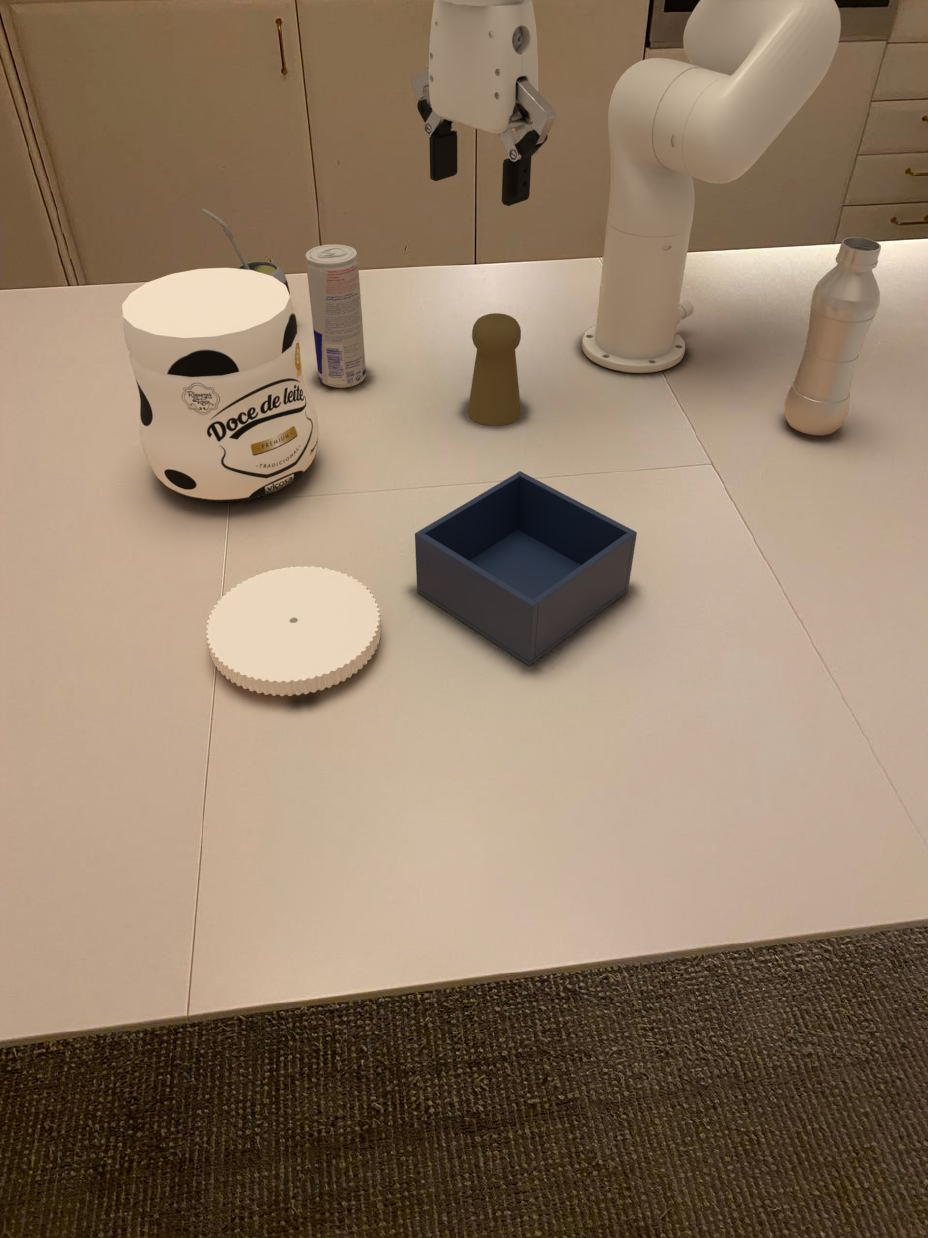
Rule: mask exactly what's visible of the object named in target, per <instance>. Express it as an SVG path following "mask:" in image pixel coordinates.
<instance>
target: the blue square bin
mask: <svg viewBox="0 0 928 1238" xmlns="http://www.w3.org/2000/svg"><path fill="white" fill-rule="evenodd" d="M637 536H638V532H637V531H635V530H633V529H632V528H629V527H628V526H626V525H624V524H623V523H620V522H618V521H616V520H614V519H613V518H612V517H611V518H610V517H609V516H607V515H605V514H603V513H601V512H599V511H597V510H595V509H593V508H592V507H590V506H588V505H585V504H584V503H582V502H581V501H578V500H576V499H574V498H573V497H571V496H569V495H566V494H565V493H563V492H561V491H559V490H558V489H555V488H553V487H551V486H549V485H547V484H546V483H544V482H542V481H540V480H538V479H536V478H534V477H532V476H530V475H528V474H527V473H524V472H523V471H521V470H520V471H518V472H516V473H514V474H512V475H510V476H509V477H507V478H506V479H504V480H502V481H500V482H499V483H497V484H496V485H494V486H492V487H491V488H489V489H487V490H485V491H484V492H481V493H480V494H478V495H477V496H475V497H473V498H472V499H470V500H468V501H467V502H465V503H464V504H462V505H460V506H459V507H457V508H454V509H453V510H452V511H450V512H448V513H447V514H445V515H443V516H442V517H440V518H438V519H437V520H435V521H433V522H431V523H429V524H428V525H427V526H425V527H422V528H421V529H420V530H418V531H416V532H415V533H414V544H415V545H414V548H415V549H414V550H415V570H416V571H415V573H416V593H417V594H419V595H420V596H422V597H424V598H425V599H426V600H428V601H430V602H431V603H433V604H434V605H436V606H437V607H439V608H440V609H441V610H443V611H445V612H446V613H448V614H450V615H451V616H452V617H453V618H455V619H457V620H458V621H460V622H461V623H463V624H465V625H466V626H467V627H468V628H470V629H472V630H473V631H475V632H476V633H478V634H479V635H480V636H483V637H484V638H485V639H487V640H489V641H490V642H491V643H493V644H495V645H496V646H497V647H498V648H500V649H502V650H504V651H505V652H506V653H509V654H510V655H511V656H513V657H514V658H515V659H517V660H519V661H520V662H522V663H523V664H525V665H526V666H528V667H530V666H532V665H533V664H534V663H536V662H537V661H539V660H540V659H541V658H542V657H543V656H545V655H546V654H547V653H549V652H550V651H551V650H553V649H554V648H555V647H557V646H558V645H559V644H560V643H562V642H563V641H564V640H566V639H567V638H569V637H570V636H571V635H572V634H574V633H575V632H577V630H579V629H581V627H583V626H584V625H586V624H587V623H588V622H589V621H591V620H592V619H593V618H595V617H596V616H597V615H598V614H600V613H601V612H602V611H604V610H605V609H607V608H608V607H609V606H610V605H612V604H613V603H615V602H616V601H617V600H618V599H620V598H621V597H623V596H624V595H625V594H626V593H628V592H629V586H630V581H631V575H632V568H633V561H634V555H635V549H636V541H637Z"/></svg>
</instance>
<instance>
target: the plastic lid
mask: <svg viewBox="0 0 928 1238" xmlns="http://www.w3.org/2000/svg"><path fill="white" fill-rule="evenodd" d="M220 598H221V599H219V600H217V602H216V604H214V606H213V609H211V611H210V614H209V615H208V619H207V620H206V625H205V628H206V630H205V634H206V635H205V638H206V643H207V647H208V650H209V655H210V658H211V660H212V662H213V664H214V667H216V668H217V671H218V672H220V674H221V675H222V676H225V679H226V680H230V683H232V684H235V685H236V686H237V687H242V689H244V690H247V689H249V692H254V691H255V692H256V693H257V694H261V693H263V695H266V696H267V695H271V696H277V695H279V696H280V697H284V696H285V695H286V696H288V697H292V696H293V695H296V696H300V695H301V694H304V695H308V694H309V693H312V694H313V693H317V691H324V690H325V688H328V689H331V688H332V687H333V685H335V686H336V685H339V684H340V682H342V683H343V682H345V681H346V679H347V678H349V679H350V678H351V677H352V676H353V674H355V675H356V674H358V671H359V670H362V669H363V668H364V665H367V664H368V660H369V661H370V660H371V659H372V656H373V655H374V654H375V653H376V650H378V645H379V644H380V640H381V634H382V623H381V612H380V608H379V603H378V602H377V599H376V598H375V596H374V593H372V591H371V589H368V587H367V586H366V585H364V583H363V582H361V581H360V582H359V580H358V579H357V578H354V577H353V576H352V575H350V576H349V575H348V574H347V573H345V572H344V573H342V571H340V570H339V571H336V569H330V568H328V567H325V568H323V567H322V566H318V567H316V566H315V565H311V566H308V565H304V566H301V565H297V566H295V567H294V566H293V565H291V566H290V567H286V566H284V567H282V568H275V569H274V570H273V569H269V570H268V571H267V572H265V571H263V572H261V574H258V573H257V574H255V575H254V576H253V577H252V576H250V577H248V579H247V580H242V581H241V583H237V584H236V585H235V586H234V587H231V589H230V590H229V591H226V592H225V595H222V596H221V597H220Z"/></svg>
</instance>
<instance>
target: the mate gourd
mask: <svg viewBox="0 0 928 1238" xmlns="http://www.w3.org/2000/svg"><path fill="white" fill-rule="evenodd" d="M201 211H202V212H203V213H204V214H205V215H207V216H208V217H210V218H211V219H212V220H214V221H215V222H217V224H219V226H221V228H222V230H223V232H224V234H225V235H226V237H228V239H229V241H230V243H231V245H232V247H233V249H234V251H235V253H236V255H237V257H238V258H239V260H240V262H241V265H240V266H238V267H237V269H245V270H253V271H256V272H260V273H263V274H266V275H270V276H273V277H274V278H276V279H277V280H279V281H280V282H282V283H283V284H284V285H286V287H287V290H288V293H289V295H290V296H291V292H290V287H289V282H288V280H287V275H286V274H285V273H284V271H283V270H282V269H281V267H279V265H277V264H275V263H274V262H271V261H262V260H257V261H251V262H247V261H246V259H245V257H244V255H243V253H242V251H241V249H240V247H239V245H238V243H237V242H236V239H235V237H234V235H233V232H232V230H231V227H229V225H227V224H226V223H225V222H224V221H223V220H222V219H221V218H220V217H218V216H216V215H215V214H214V213H212V212H211V211H209V210H207V209H206V208H204V207H202V209H201Z"/></svg>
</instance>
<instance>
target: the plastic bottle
mask: <svg viewBox="0 0 928 1238" xmlns="http://www.w3.org/2000/svg"><path fill="white" fill-rule="evenodd" d="M881 250H882V246H881V244H880V243H879V242H878V241H876V240H873V239H871V238H868V237H867V238H866V237H859V236H851V237H846V238H844V239H843V240H841V243H840V246H839V250H838V253H837V254H836V257H835V262H836V265H835V266H834V267H833V268H832V269H830V270H829V271H828V272H826V274H824V275H823V277H822V278H821V279H820V280H818V281H817V283H816V285H815V287H814V288H813V290H812V294H811V300H810V309H809V319H808V329H807V334H806V338H805V344H804V349H803V353H802V356H801V360H800V363H799V366H798V368H797V371H796V375H795V378H794V380H793V382H792V383H791V385H790V386H789V390H788V391H787V394H786V397H785V400H784V411H783V413H784V417H785V419H786V421H787V423H788V425H789V426H790V427H791V428H793V429H795V430H796V431H798V432H799V433H802V434H806V435H810V436H820V437H821V436H827V435H831V434H834V433H835V432H836V431H837V430H838V429H840V428H841V427H842V425H843V424H844V422H845V420H846V418H847V416H848V414H849V407H850V403H851V402H850V401H851V388H852V383H853V377H854V372H855V368H856V364H857V360H858V358H859V353H860V352H861V349H862V346H863V344H864V341H865V338H866V336H867V334H868V332H869V329H870V327H871V325H872V323H873V322H874V321H873V320H874V319H875V316H876V314H877V313H878V310H879V307H880V305H881V291H880V289H879V285H878V281H877V279H876V277H875V274H874V273H873V272H874V271H873V270H874V269H875V268H876V267H877V266H878V263H879V257H880V253H881Z"/></svg>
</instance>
